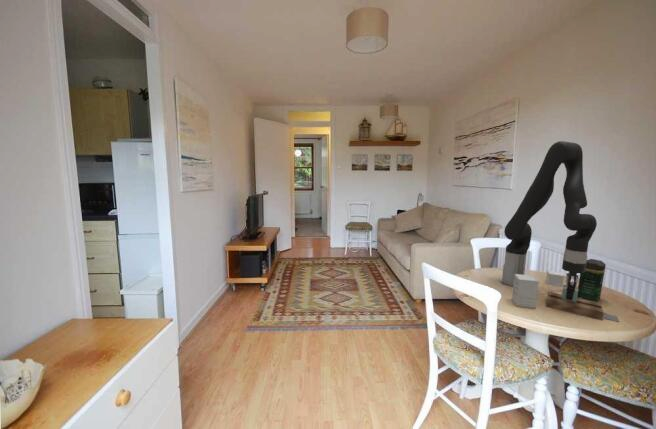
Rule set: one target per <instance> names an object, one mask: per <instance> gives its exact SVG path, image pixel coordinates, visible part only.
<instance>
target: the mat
mask: <svg viewBox="0 0 656 429" xmlns="http://www.w3.org/2000/svg"><path fill="white" fill-rule="evenodd" d="M603 320H608V321H611V322H616V323H620V320H619V317H618V315H613V314H609V313H605V312H604V314H603Z"/></svg>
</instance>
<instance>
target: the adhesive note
mask: <svg viewBox="0 0 656 429" xmlns="http://www.w3.org/2000/svg"><path fill="white" fill-rule="evenodd" d="M546 271H547V272H546V279H545V282H546V283H547V285H549V286H554V287H555V286H556V287H561V288H563V285H564V277H565V275H564V274H563V273H562V272H560V271H552V270H546Z"/></svg>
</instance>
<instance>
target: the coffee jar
mask: <svg viewBox="0 0 656 429" xmlns="http://www.w3.org/2000/svg"><path fill="white" fill-rule="evenodd" d="M606 266H607V264H606V263H605V262H604V261H602V260H599V259H593V258H590V259H587V262H586V268H585V272H584V273H579V278H578V285H577V288H578V295H577V298H580V299H585V300H590V301H594V302H598V301H599V300H600V299H601V295H602V288H603V283H604V279H605V277H604V276H605V271H606Z"/></svg>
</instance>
